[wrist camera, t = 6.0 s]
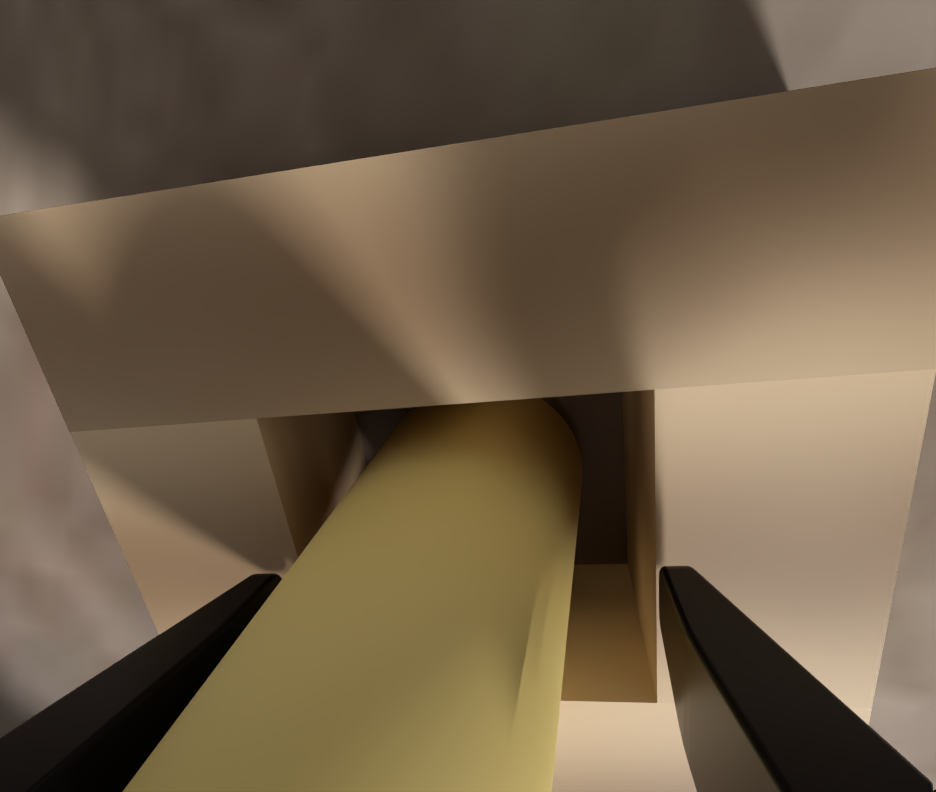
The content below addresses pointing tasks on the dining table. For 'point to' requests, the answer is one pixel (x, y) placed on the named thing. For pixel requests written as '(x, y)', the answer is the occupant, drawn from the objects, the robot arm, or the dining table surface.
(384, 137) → the dining table surface
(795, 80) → the dining table surface
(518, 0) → the dining table surface
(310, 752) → the peg
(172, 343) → the bore block
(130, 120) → the dining table surface
